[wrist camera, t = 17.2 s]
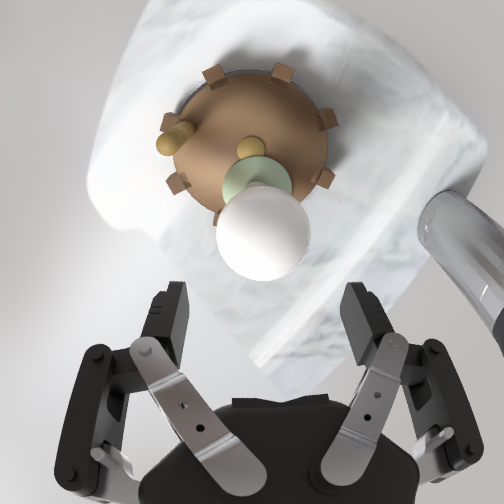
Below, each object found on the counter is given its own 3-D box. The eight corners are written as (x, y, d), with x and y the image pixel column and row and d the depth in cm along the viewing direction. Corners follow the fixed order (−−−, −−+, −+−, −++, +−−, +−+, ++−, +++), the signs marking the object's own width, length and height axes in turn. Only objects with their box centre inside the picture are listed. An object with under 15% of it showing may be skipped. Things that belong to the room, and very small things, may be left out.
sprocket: (196, 40, 20) (177, 17, 12) (359, 105, 23) (408, 117, 16) (146, 196, 28) (116, 239, 20) (292, 241, 32) (309, 295, 24)
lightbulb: (298, 168, 25) (337, 222, 15) (279, 229, 28) (301, 306, 19) (229, 153, 24) (224, 198, 14) (215, 217, 27) (205, 292, 17)
